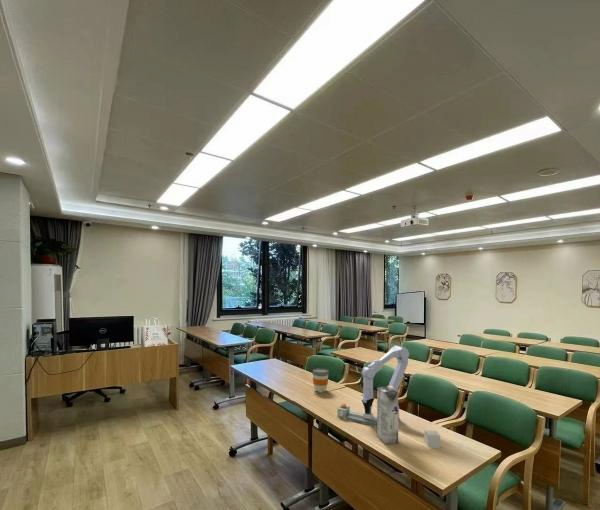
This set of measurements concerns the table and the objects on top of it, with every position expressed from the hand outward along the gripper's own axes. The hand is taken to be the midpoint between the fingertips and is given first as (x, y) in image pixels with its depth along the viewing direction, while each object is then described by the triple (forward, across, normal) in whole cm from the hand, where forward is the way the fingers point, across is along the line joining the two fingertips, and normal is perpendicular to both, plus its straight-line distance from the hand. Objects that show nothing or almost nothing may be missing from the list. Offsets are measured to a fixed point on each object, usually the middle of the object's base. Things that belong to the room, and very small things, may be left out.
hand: (368, 411), depth 191 cm
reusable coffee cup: (+6, -37, -49) cm, 62 cm away
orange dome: (+1, 0, -15) cm, 16 cm away
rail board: (+5, 0, -3) cm, 6 cm away
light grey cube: (+6, +11, +37) cm, 39 cm away
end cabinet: (+5, 0, -16) cm, 16 cm away
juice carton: (+6, +18, +16) cm, 25 cm away
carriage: (+3, 0, 0) cm, 3 cm away
